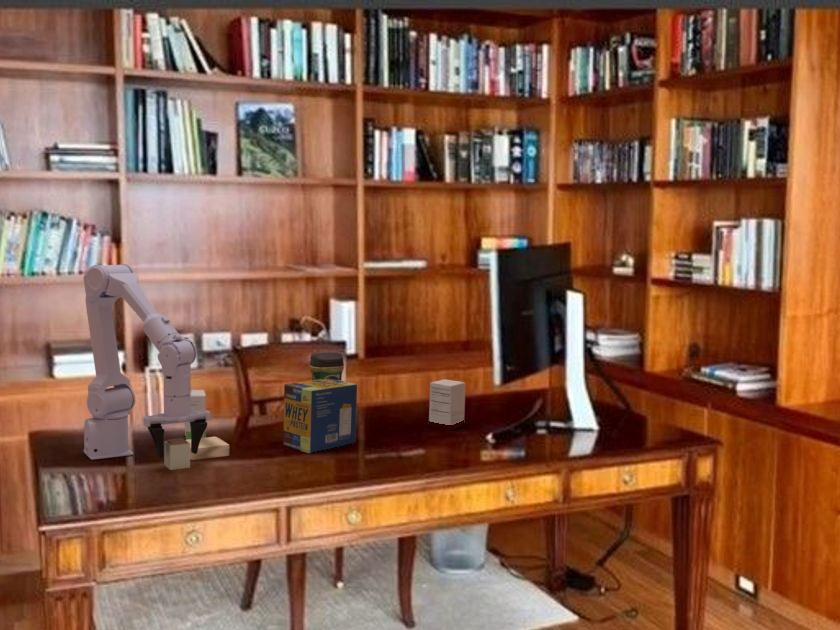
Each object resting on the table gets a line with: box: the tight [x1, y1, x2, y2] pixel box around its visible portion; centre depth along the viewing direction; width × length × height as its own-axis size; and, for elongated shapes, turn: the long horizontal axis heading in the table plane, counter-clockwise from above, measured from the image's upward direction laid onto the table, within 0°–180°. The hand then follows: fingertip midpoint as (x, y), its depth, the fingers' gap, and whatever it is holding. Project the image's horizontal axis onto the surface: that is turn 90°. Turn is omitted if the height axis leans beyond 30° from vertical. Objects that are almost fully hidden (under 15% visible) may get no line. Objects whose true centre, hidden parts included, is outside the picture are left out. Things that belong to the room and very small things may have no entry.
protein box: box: [283, 378, 358, 454], centre depth 215 cm, size 10×15×16 cm
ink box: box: [184, 389, 207, 440], centre depth 218 cm, size 9×5×12 cm, turn 18°
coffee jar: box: [309, 351, 345, 381], centre depth 247 cm, size 10×8×19 cm
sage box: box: [163, 437, 191, 471], centre depth 192 cm, size 4×4×6 cm
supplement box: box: [428, 378, 466, 425], centre depth 239 cm, size 7×7×13 cm
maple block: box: [185, 436, 230, 461], centre depth 204 cm, size 9×9×3 cm
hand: (177, 454), depth 192 cm, fingers open, 7 cm apart
